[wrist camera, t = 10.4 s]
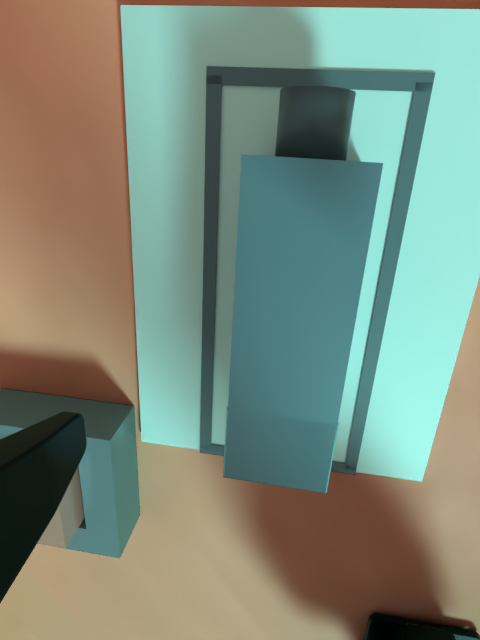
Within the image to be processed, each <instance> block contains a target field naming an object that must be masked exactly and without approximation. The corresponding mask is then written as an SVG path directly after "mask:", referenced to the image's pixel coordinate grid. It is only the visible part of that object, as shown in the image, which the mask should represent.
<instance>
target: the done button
mask: <svg viewBox="0 0 480 640" xmlns="http://www.w3.org/2000/svg"><path fill="white" fill-rule="evenodd" d="M84 518H85V514H84V506H83V498H82V490H81V482H80V474H79V466H78V468H77V470H76V472H75V474H74V476H73V478H72V480H71V482H70V484H69V486H68V488H67V490H66V493H65V495H64V497H63V499H62V501H61V503H60V505H59V507H58V509H57V511H56V513H55V514H54V516H53V518H52V520H51V521H50V523H49V525H48V526H47V528H46V530H45V531H44V533H43V534H42V536H41V538H40V539H39V541H38V543H37V544H43V545H49V546H54V547H60V548H65V549H66V547H67V546H68V544H69V542H70V541H71V539H72V537H73V536H74V534H75V532H76V531H77V529H78V528H79V526H80V524H81V523H82V521H83V519H84Z"/></svg>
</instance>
